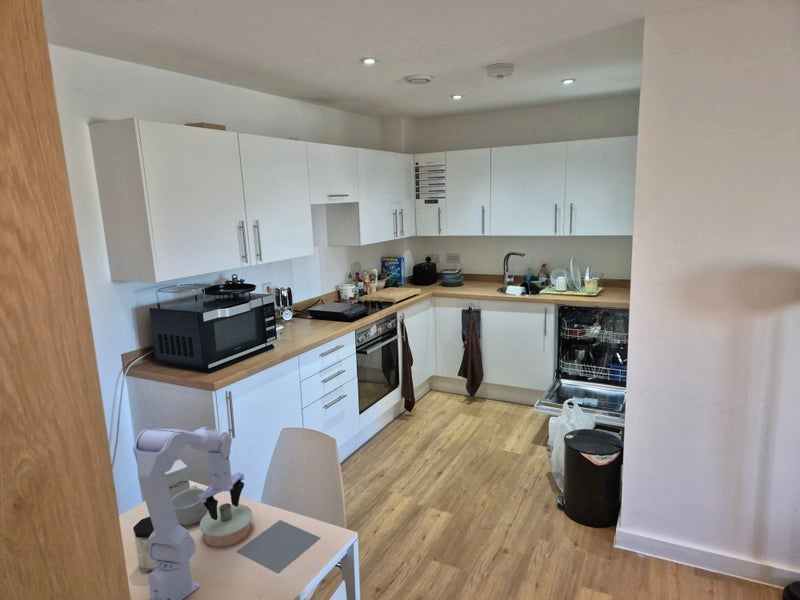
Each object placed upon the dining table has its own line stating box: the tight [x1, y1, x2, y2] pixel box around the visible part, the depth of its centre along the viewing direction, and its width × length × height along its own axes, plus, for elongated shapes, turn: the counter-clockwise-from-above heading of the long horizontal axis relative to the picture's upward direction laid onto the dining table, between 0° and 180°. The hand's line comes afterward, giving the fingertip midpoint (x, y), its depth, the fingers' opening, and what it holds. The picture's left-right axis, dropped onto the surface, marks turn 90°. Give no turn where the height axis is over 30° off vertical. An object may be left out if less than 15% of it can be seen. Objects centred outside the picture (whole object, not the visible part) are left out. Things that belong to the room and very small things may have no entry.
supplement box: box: [165, 459, 191, 499], centre depth 173 cm, size 7×7×13 cm
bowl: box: [203, 522, 251, 548], centre depth 155 cm, size 13×13×4 cm
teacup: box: [172, 485, 208, 527], centre depth 164 cm, size 14×11×8 cm
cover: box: [199, 502, 253, 537], centre depth 154 cm, size 15×15×5 cm
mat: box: [235, 519, 321, 574], centre depth 149 cm, size 17×17×1 cm
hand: (225, 511), depth 154 cm, fingers open, 7 cm apart
